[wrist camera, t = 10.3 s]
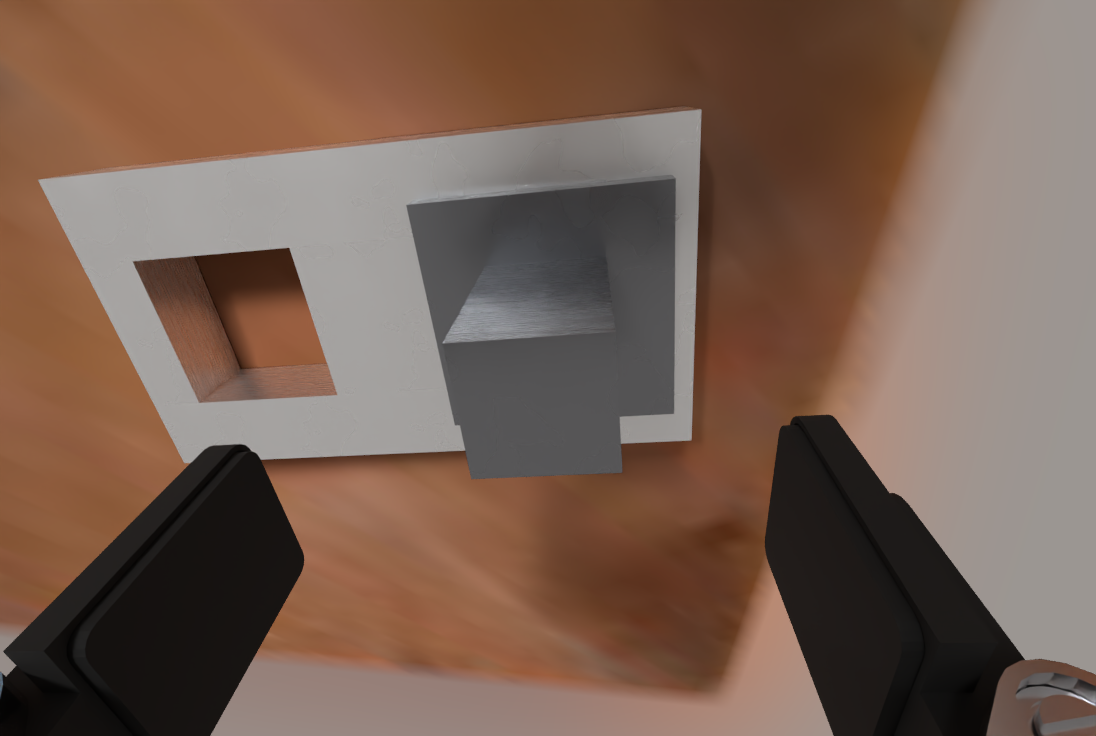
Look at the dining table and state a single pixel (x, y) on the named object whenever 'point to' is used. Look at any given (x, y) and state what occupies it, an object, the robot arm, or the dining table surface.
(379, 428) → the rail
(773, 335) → the dining table surface
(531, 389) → the flanged block
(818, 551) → the robot arm
